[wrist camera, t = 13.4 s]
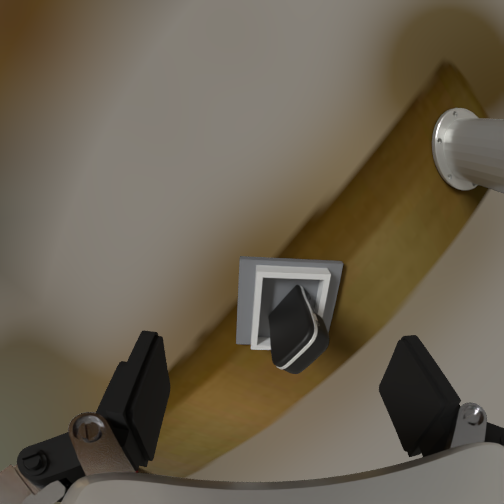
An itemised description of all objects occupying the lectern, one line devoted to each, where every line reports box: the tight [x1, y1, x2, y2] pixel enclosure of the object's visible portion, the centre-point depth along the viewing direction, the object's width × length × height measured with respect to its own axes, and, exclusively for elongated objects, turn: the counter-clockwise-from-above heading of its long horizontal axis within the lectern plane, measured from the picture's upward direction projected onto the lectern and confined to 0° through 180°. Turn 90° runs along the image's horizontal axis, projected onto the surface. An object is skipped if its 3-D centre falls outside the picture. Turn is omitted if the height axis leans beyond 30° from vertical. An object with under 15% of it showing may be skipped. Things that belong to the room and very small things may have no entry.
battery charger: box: [268, 285, 329, 374], centre depth 36 cm, size 7×4×11 cm, turn 143°
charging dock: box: [236, 256, 343, 350], centre depth 41 cm, size 14×14×3 cm
